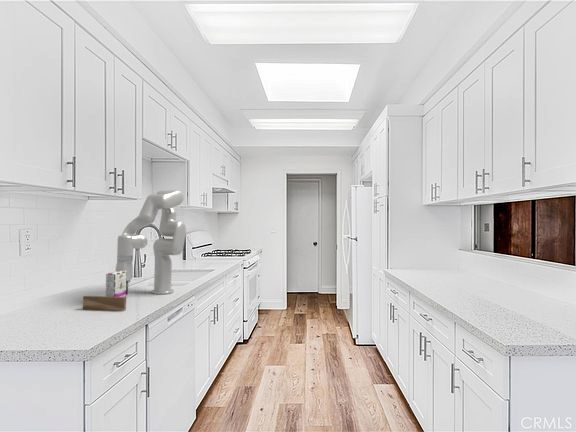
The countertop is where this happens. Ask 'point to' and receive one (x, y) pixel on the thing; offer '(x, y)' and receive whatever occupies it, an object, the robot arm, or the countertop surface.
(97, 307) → the board
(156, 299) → the countertop surface
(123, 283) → the candy bar box
